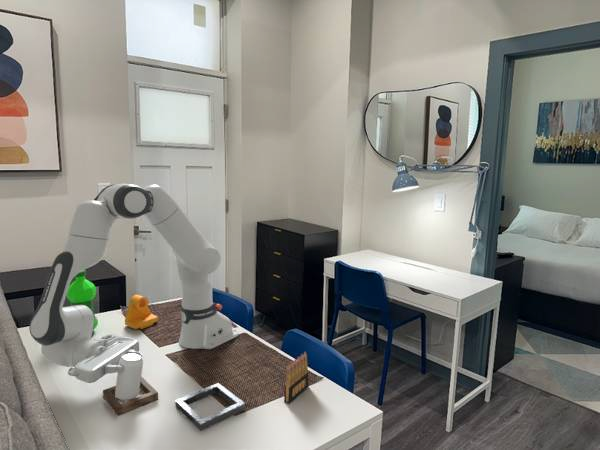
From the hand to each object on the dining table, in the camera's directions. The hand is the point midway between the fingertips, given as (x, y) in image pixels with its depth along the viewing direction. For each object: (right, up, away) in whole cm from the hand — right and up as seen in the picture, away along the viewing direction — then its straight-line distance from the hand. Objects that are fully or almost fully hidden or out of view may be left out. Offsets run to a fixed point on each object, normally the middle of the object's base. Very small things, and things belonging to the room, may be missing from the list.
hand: (131, 363), depth 122 cm
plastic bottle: (-36, -3, +45) cm, 58 cm away
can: (-2, -10, +1) cm, 10 cm away
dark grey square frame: (+23, -12, -1) cm, 26 cm away
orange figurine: (-17, -2, +54) cm, 56 cm away
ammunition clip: (+47, -12, +6) cm, 49 cm away
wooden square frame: (-1, -11, +2) cm, 11 cm away
